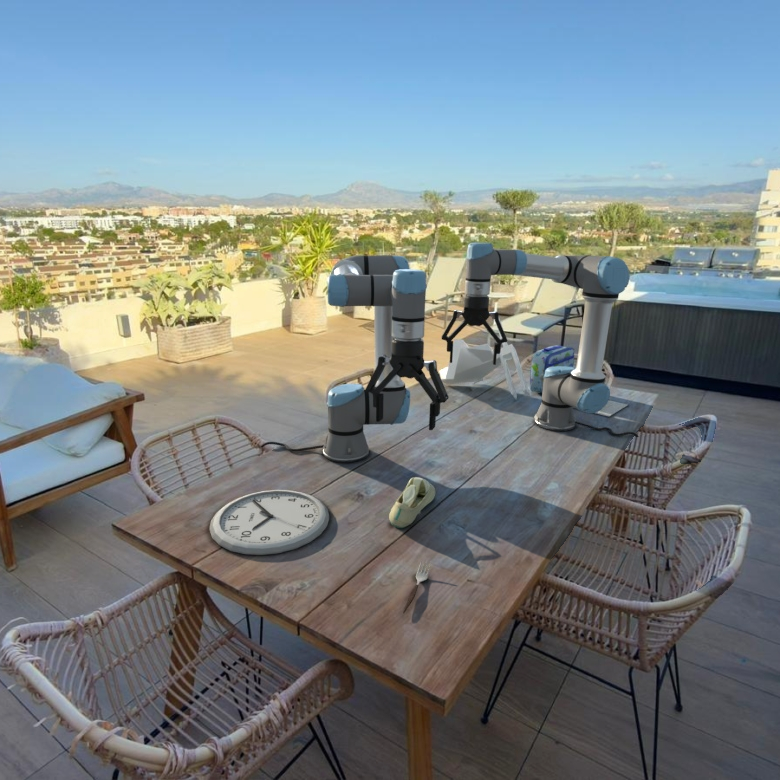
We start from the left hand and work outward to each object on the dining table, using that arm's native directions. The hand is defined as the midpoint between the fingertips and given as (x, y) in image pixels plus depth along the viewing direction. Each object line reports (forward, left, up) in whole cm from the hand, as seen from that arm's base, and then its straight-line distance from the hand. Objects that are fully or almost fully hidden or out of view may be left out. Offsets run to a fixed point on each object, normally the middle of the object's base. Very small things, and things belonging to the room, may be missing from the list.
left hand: (405, 424), depth 127 cm
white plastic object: (-25, +117, -27) cm, 122 cm away
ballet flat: (-1, +8, -27) cm, 28 cm away
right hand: (-2, +48, +5) cm, 48 cm away
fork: (+15, -22, -27) cm, 38 cm away
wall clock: (-29, -18, -27) cm, 44 cm away
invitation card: (+27, +127, -27) cm, 132 cm away
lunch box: (+2, +139, -27) cm, 141 cm away
